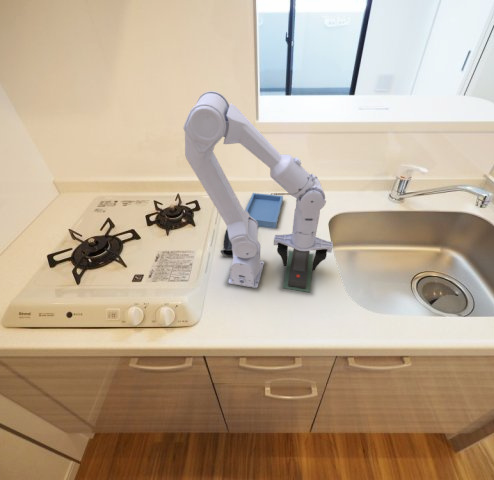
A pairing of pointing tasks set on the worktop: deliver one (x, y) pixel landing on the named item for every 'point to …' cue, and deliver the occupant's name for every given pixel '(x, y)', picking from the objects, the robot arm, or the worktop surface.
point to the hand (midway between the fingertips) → (299, 265)
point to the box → (265, 209)
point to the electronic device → (227, 246)
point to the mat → (307, 274)
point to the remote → (299, 269)
